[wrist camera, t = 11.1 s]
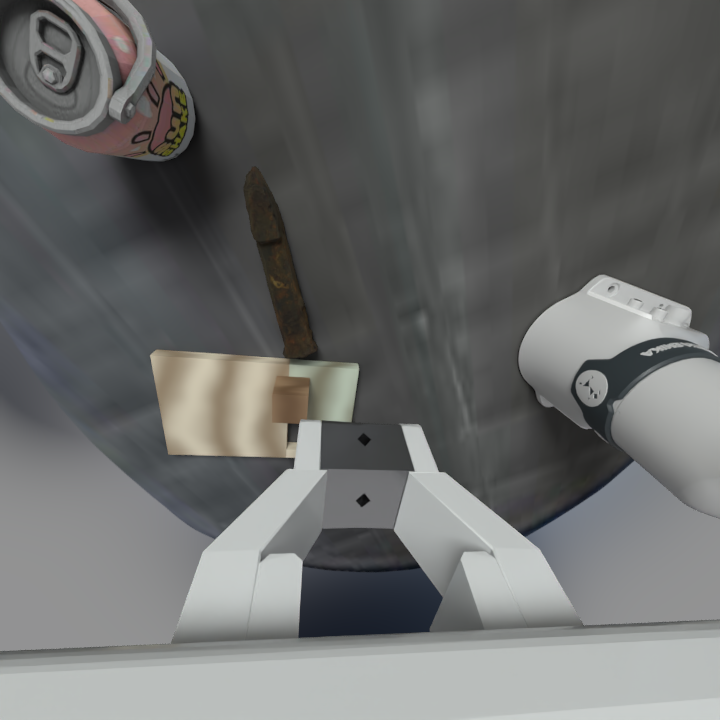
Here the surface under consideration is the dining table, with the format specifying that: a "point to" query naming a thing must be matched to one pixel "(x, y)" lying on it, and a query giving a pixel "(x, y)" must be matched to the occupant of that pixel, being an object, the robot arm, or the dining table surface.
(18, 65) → the beverage can
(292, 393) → the walnut cube
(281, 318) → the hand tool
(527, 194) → the dining table surface
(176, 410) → the birch board
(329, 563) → the dining table surface
